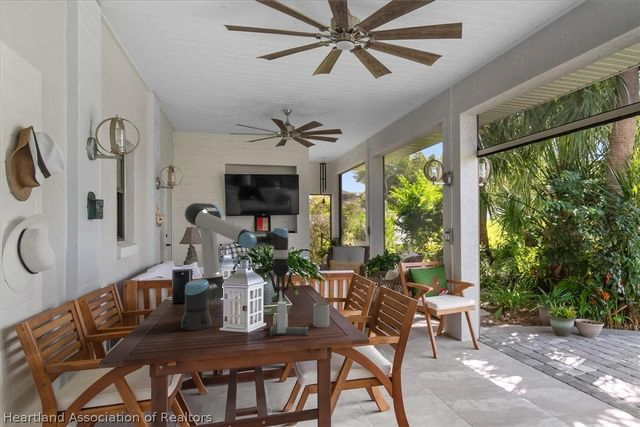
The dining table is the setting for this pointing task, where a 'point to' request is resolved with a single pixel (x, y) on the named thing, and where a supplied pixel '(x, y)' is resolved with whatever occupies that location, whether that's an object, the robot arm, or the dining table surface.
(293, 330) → the rail
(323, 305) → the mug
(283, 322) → the block
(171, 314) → the dining table surface
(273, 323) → the gauge cabinet
